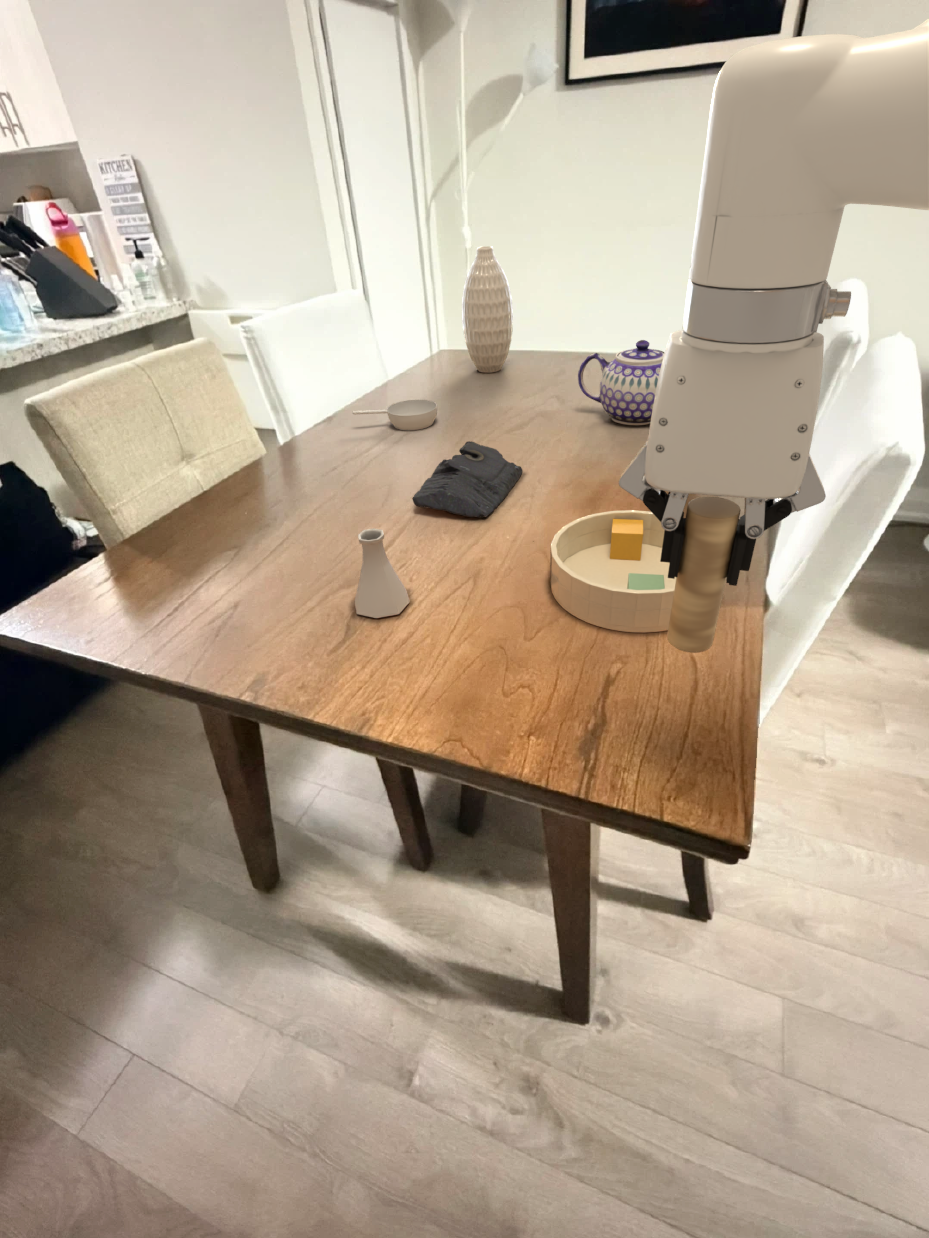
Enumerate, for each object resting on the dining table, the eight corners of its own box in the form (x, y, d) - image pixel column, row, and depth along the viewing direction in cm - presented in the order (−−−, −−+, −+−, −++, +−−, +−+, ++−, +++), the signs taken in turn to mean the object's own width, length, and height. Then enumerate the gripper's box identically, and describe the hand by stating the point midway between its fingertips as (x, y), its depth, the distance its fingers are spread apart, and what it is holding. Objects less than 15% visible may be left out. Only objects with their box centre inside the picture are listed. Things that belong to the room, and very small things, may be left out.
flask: (414, 588, 85) (405, 520, 79) (405, 620, 79) (394, 549, 73) (361, 588, 86) (348, 520, 80) (348, 619, 80) (333, 549, 74)
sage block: (660, 602, 77) (663, 574, 75) (661, 622, 74) (665, 593, 72) (625, 600, 78) (628, 572, 76) (625, 619, 75) (628, 591, 73)
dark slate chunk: (397, 513, 103) (393, 486, 101) (447, 461, 120) (445, 436, 117) (487, 523, 98) (486, 495, 96) (527, 468, 115) (526, 442, 112)
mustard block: (640, 546, 89) (643, 519, 86) (640, 560, 85) (643, 534, 83) (610, 544, 89) (612, 518, 87) (609, 559, 86) (611, 532, 84)
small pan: (440, 429, 135) (439, 410, 132) (354, 438, 134) (351, 420, 131) (436, 413, 143) (434, 395, 141) (355, 421, 142) (352, 404, 140)
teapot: (564, 423, 133) (566, 346, 124) (590, 400, 143) (593, 328, 135) (688, 436, 122) (700, 354, 113) (706, 411, 133) (718, 334, 124)
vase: (523, 367, 170) (522, 244, 153) (492, 379, 162) (487, 251, 146) (486, 361, 177) (482, 243, 161) (455, 372, 170) (447, 250, 153)
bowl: (716, 553, 87) (722, 517, 84) (714, 643, 72) (722, 603, 68) (566, 539, 93) (567, 504, 90) (534, 620, 77) (534, 581, 74)
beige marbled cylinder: (713, 629, 54) (740, 498, 47) (712, 656, 51) (741, 520, 44) (668, 623, 55) (688, 494, 48) (665, 649, 52) (686, 516, 45)
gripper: (893, 300, 39) (815, 560, 50) (617, 302, 44) (600, 538, 55) (922, 328, 33) (827, 615, 44) (600, 326, 38) (585, 585, 49)
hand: (702, 570), depth 49 cm, fingers closed on beige marbled cylinder, 3 cm apart
